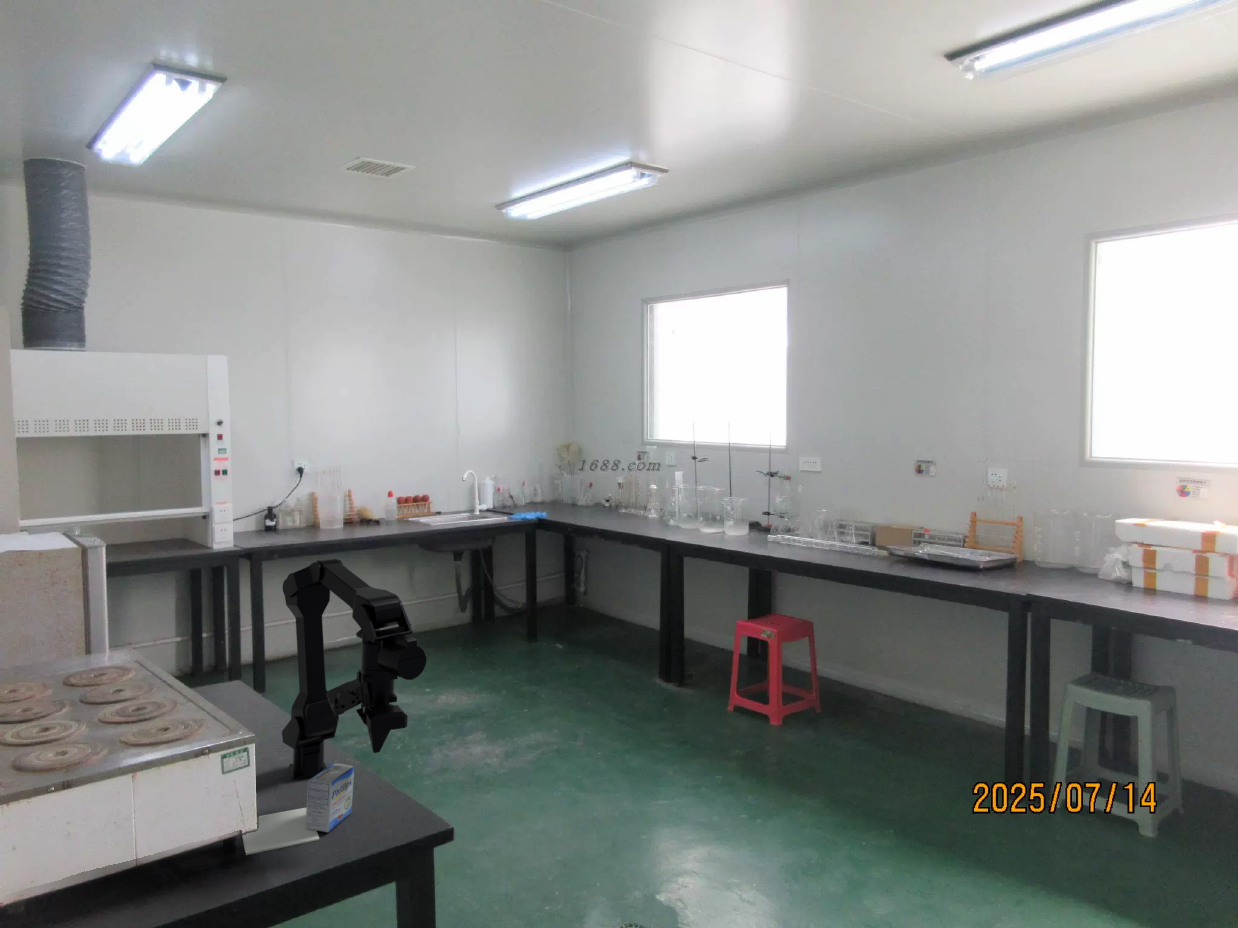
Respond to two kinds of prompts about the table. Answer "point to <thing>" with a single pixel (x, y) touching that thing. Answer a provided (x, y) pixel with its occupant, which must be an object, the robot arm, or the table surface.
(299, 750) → the robot arm
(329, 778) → the medicine box
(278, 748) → the table surface
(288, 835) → the mat
